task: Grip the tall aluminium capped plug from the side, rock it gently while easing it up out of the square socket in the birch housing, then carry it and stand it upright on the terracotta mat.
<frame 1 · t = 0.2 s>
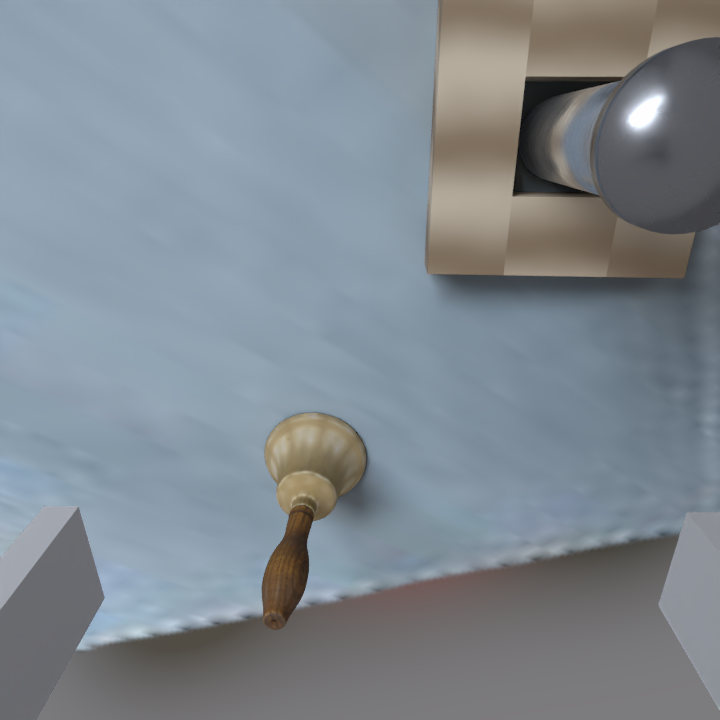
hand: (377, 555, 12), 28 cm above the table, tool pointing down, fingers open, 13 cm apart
birch housing: (559, 138, 34), on the table
aluminium plug: (607, 140, 26), in the birch housing
hand bell: (315, 455, 44), on the table
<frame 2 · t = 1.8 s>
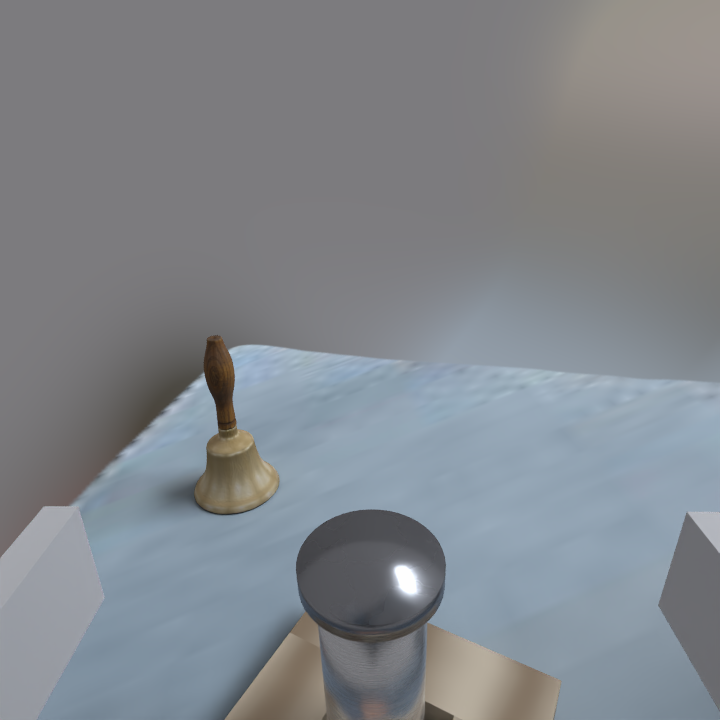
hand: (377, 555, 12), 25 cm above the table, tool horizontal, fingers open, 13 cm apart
aluminium plug: (374, 680, 26), in the birch housing
hand bell: (237, 488, 53), on the table
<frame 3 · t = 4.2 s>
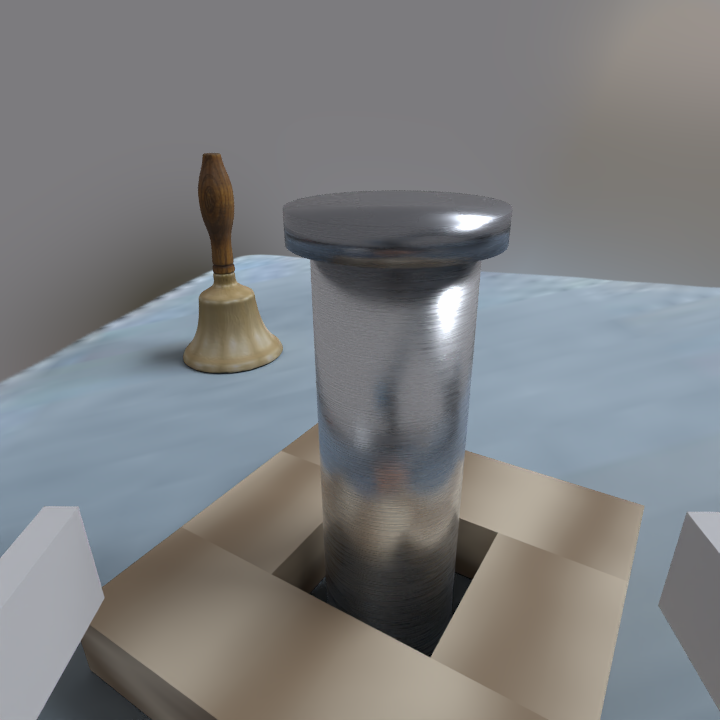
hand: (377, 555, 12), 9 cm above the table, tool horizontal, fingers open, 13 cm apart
birch housing: (388, 608, 22), on the table
aluminium plug: (391, 442, 19), in the birch housing
hand bell: (234, 355, 46), on the table
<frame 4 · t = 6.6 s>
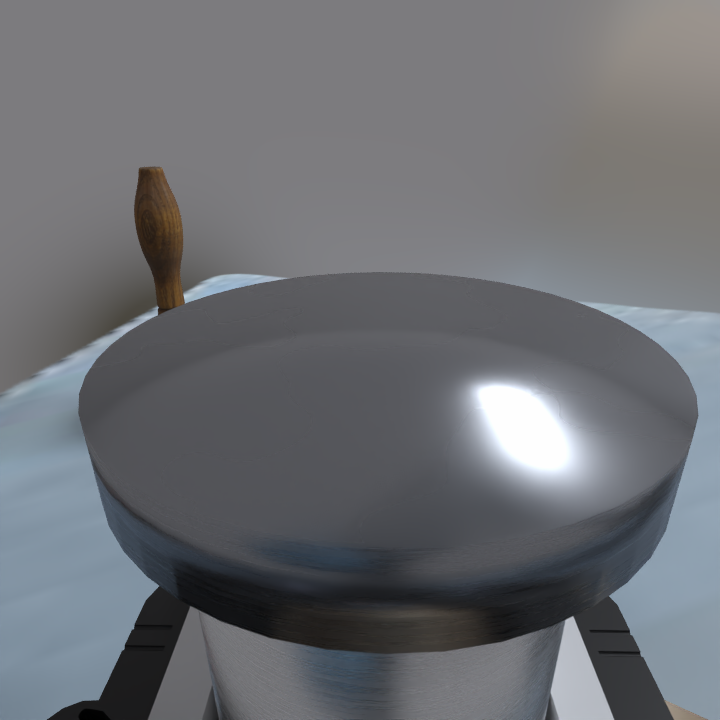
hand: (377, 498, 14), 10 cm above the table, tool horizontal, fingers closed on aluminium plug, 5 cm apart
hand bell: (189, 416, 37), on the table
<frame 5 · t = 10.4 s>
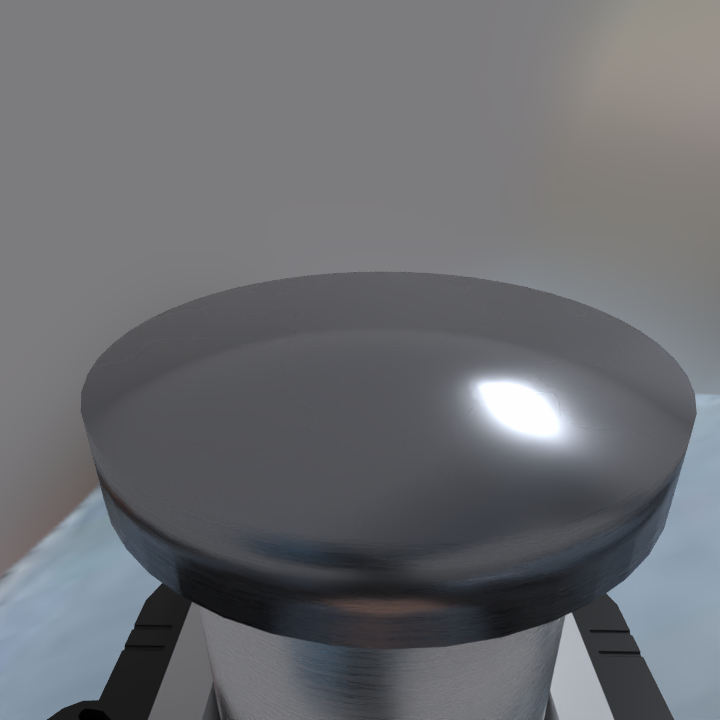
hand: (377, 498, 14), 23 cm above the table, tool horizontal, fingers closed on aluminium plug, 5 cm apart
when the fingers open (12 cm above the table, at t = 14.1 s): aluminium plug drops 1 cm, resting on terracotta mat.
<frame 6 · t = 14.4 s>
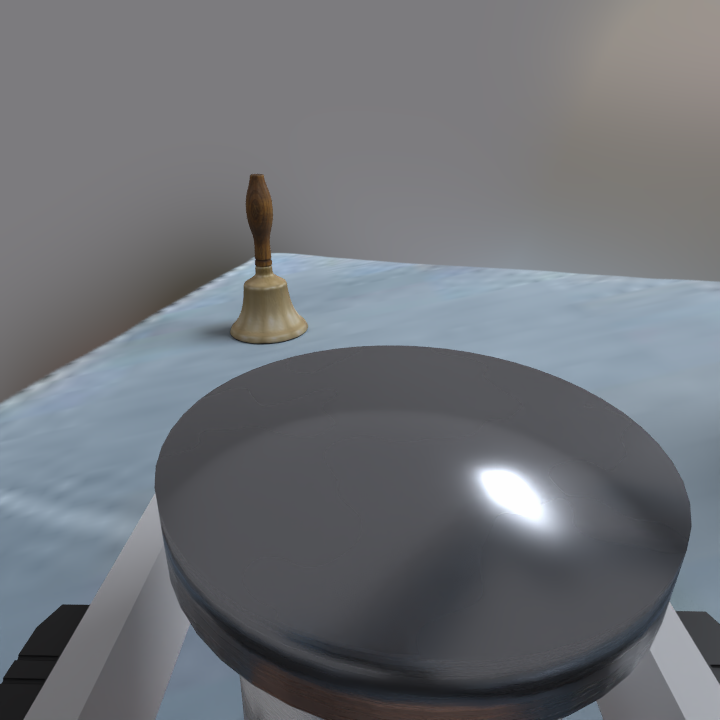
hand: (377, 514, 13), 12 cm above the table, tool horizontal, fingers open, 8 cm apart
hand bell: (269, 331, 58), on the table
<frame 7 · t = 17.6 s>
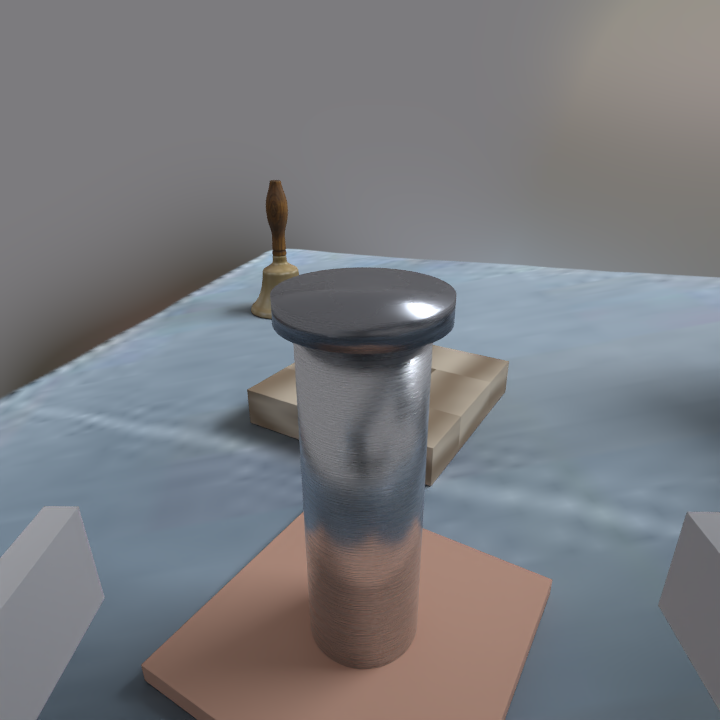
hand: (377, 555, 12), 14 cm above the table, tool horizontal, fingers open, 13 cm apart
birch housing: (384, 406, 46), on the table
terracotta mat: (363, 633, 26), on the table
aluminium plug: (363, 479, 22), on the terracotta mat, point 9 cm above the table
hand bell: (283, 310, 70), on the table
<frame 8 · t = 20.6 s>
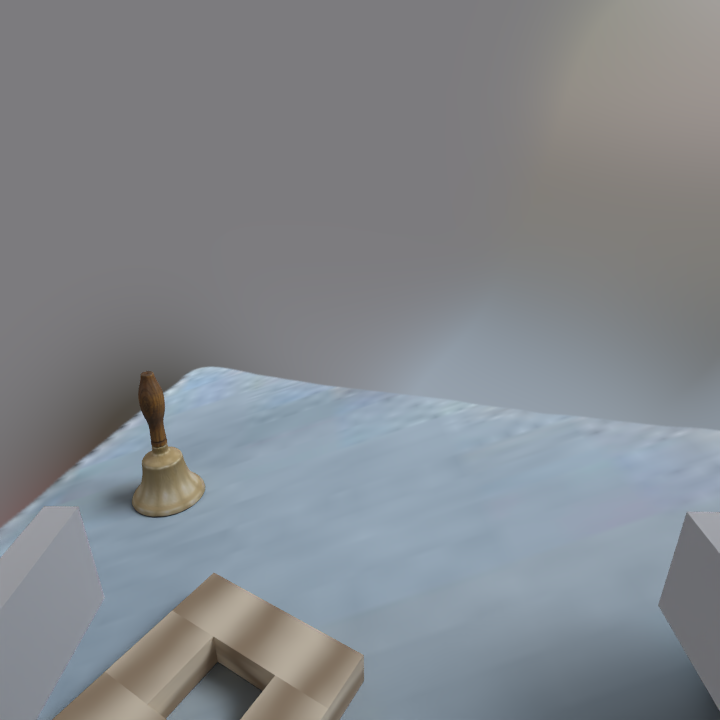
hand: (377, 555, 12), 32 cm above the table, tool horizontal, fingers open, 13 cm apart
birch housing: (217, 715, 40), on the table
hand bell: (169, 495, 64), on the table
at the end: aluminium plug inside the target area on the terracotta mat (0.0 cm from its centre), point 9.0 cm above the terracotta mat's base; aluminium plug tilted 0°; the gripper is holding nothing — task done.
